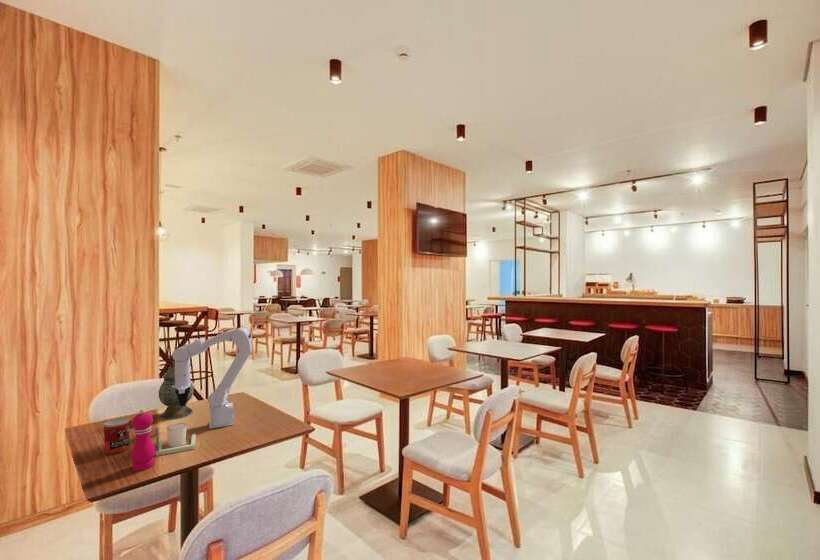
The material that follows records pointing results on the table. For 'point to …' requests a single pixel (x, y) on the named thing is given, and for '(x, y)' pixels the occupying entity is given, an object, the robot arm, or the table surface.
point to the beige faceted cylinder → (176, 434)
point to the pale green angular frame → (171, 450)
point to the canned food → (116, 435)
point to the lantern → (173, 397)
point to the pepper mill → (142, 442)
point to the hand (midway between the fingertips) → (183, 405)
